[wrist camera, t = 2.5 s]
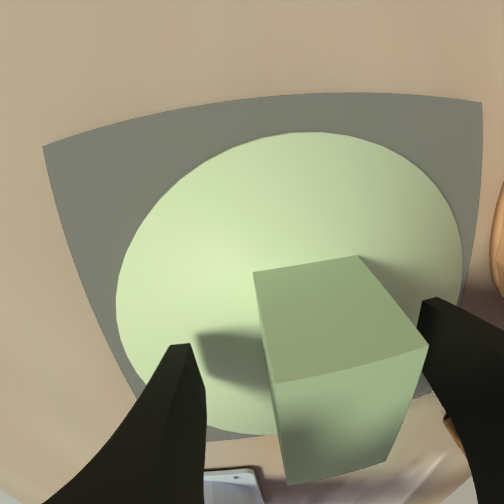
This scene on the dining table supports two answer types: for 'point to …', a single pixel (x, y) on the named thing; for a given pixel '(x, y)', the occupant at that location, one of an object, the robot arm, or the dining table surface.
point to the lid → (295, 291)
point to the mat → (223, 137)
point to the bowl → (498, 245)
